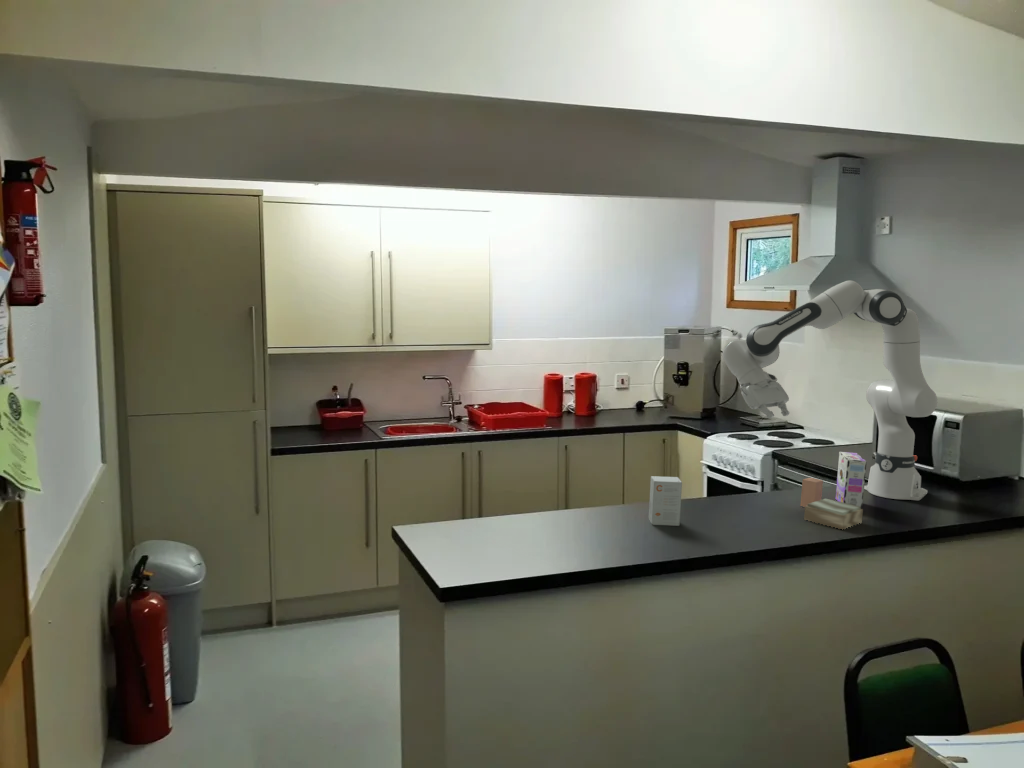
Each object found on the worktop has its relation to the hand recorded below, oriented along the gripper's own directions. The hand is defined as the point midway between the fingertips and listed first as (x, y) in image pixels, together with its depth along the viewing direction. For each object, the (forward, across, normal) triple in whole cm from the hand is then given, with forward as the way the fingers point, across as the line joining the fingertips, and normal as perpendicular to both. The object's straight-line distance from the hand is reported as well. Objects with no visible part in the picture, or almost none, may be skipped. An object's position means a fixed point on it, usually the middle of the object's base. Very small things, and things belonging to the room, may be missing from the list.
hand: (779, 416), depth 263 cm
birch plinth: (+37, -9, +2) cm, 38 cm away
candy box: (+33, +13, +6) cm, 36 cm away
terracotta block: (+29, 0, +10) cm, 31 cm away
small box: (+17, -53, +22) cm, 60 cm away
